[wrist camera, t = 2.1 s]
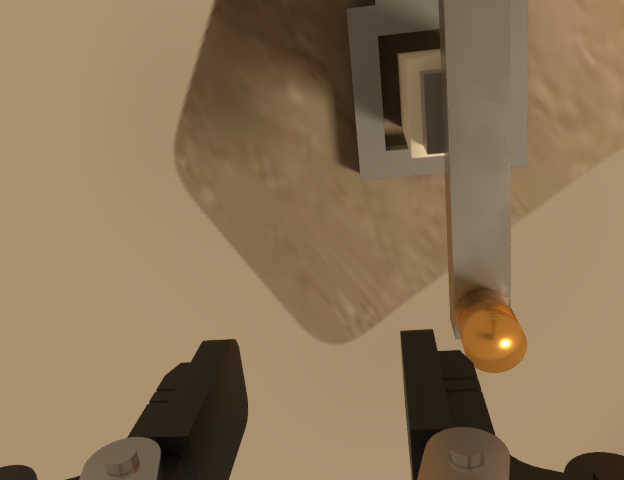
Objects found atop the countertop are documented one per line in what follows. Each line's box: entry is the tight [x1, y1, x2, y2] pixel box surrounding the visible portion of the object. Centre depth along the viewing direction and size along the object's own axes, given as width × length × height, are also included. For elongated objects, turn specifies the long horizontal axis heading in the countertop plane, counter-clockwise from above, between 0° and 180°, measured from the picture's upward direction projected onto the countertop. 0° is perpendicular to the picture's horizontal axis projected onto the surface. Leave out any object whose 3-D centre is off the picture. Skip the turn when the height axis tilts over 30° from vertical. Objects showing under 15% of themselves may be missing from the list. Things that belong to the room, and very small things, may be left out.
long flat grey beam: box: [438, 0, 527, 373], centre depth 18 cm, size 19×3×4 cm, turn 6°
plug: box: [397, 49, 444, 158], centre depth 27 cm, size 4×4×11 cm
